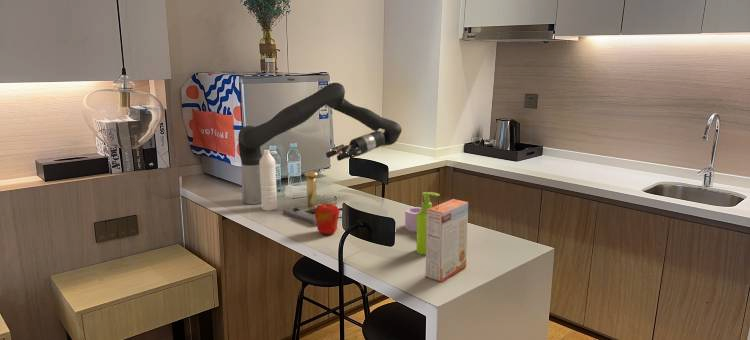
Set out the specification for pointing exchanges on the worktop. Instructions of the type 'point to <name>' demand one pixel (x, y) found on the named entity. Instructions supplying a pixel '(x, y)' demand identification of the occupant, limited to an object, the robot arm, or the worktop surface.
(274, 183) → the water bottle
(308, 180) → the pin
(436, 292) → the worktop surface
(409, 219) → the purple block with hole
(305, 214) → the outer chain end
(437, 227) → the cracker box
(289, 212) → the inner chain end
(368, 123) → the robot arm
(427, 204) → the soap dispenser
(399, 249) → the worktop surface
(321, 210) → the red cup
